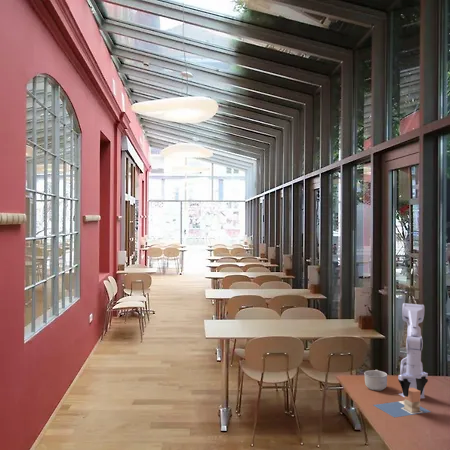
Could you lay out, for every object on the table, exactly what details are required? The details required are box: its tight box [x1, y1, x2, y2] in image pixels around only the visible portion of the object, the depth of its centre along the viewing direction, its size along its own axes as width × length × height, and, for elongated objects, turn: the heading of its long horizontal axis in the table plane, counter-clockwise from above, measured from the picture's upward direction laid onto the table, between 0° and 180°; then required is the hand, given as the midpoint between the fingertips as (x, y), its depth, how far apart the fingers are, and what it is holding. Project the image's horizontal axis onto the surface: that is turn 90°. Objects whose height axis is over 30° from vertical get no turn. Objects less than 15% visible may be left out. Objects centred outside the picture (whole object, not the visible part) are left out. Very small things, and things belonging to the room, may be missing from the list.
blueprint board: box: [373, 400, 432, 418], centre depth 213 cm, size 20×14×1 cm
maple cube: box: [403, 398, 421, 413], centre depth 211 cm, size 4×4×4 cm
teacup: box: [363, 369, 388, 392], centre depth 240 cm, size 14×11×8 cm
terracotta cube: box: [404, 388, 421, 402], centre depth 211 cm, size 4×4×4 cm
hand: (412, 395), depth 211 cm, fingers open, 7 cm apart
